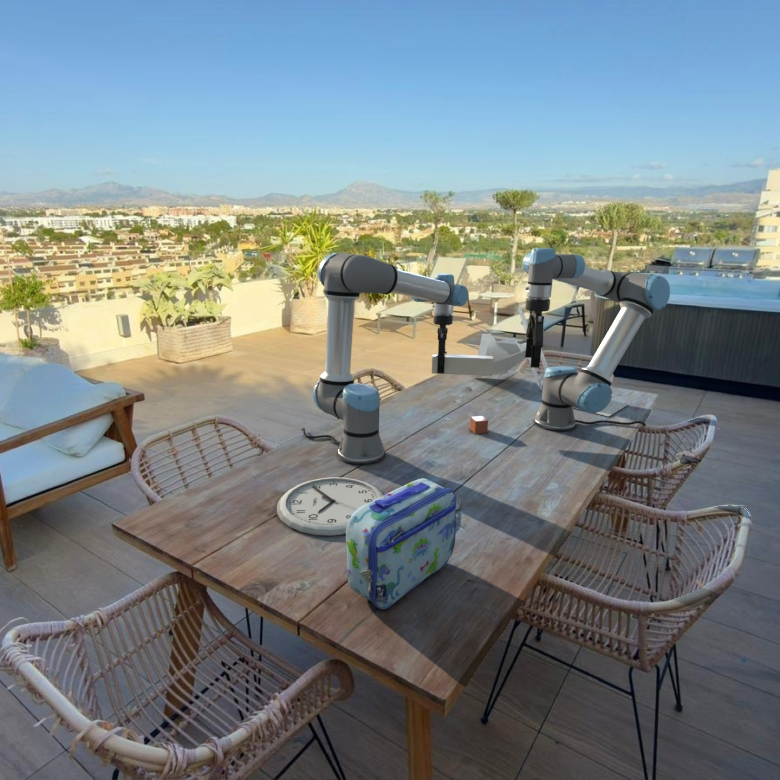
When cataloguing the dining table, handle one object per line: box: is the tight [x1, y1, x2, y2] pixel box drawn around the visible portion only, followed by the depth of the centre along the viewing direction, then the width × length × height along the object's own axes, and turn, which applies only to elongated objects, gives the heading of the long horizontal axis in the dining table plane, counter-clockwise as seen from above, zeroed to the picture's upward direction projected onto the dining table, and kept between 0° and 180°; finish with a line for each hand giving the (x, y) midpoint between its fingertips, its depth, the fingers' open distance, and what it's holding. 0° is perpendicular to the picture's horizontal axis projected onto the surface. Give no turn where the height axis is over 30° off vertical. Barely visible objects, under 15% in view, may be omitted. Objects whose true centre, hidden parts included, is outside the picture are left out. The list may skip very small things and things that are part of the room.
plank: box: [431, 353, 493, 377], centre depth 210 cm, size 24×4×7 cm, turn 82°
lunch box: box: [345, 477, 457, 610], centre depth 110 cm, size 26×11×21 cm, turn 134°
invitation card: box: [573, 400, 628, 418], centre depth 226 cm, size 21×1×15 cm
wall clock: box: [276, 476, 385, 537], centre depth 143 cm, size 30×2×30 cm
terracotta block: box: [469, 415, 489, 435], centre depth 196 cm, size 5×5×5 cm
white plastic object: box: [470, 306, 549, 391], centre depth 258 cm, size 37×45×31 cm
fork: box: [456, 495, 462, 511], centre depth 138 cm, size 3×16×2 cm, turn 160°
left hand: (440, 371), depth 212 cm, fingers closed on plank, 4 cm apart
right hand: (531, 362), depth 174 cm, fingers open, 13 cm apart
